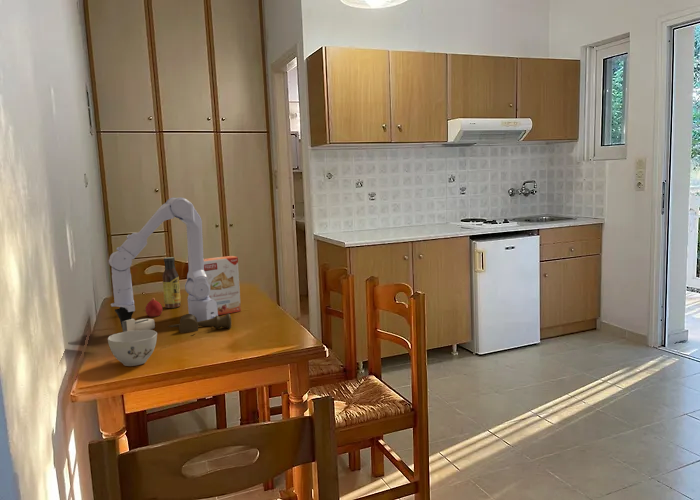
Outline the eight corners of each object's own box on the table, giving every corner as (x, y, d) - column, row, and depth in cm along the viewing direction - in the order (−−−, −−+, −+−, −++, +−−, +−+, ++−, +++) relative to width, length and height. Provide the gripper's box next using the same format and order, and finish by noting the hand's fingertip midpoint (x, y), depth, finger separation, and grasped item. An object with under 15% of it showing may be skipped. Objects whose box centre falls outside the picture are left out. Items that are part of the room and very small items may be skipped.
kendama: (232, 333, 179) (168, 339, 173) (230, 326, 188) (169, 332, 182) (232, 314, 178) (167, 320, 172) (229, 309, 187) (168, 314, 182)
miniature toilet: (147, 324, 187) (146, 313, 186) (159, 327, 182) (158, 315, 182) (118, 332, 179) (117, 320, 178) (129, 335, 174) (128, 322, 174)
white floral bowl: (162, 365, 148) (159, 336, 147) (112, 374, 142) (108, 344, 141) (154, 350, 161) (152, 324, 160) (108, 358, 155) (105, 331, 154)
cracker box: (206, 318, 198) (201, 260, 195) (200, 315, 202) (195, 259, 200) (242, 311, 206) (238, 256, 203) (235, 308, 211) (231, 254, 208)
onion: (142, 320, 198) (140, 299, 197) (155, 316, 204) (153, 295, 203) (154, 322, 196) (152, 300, 195) (166, 318, 201) (164, 296, 200)
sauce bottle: (178, 308, 216) (173, 258, 213) (162, 309, 216) (157, 259, 213) (183, 304, 222) (179, 256, 220) (168, 305, 222) (163, 256, 220)
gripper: (103, 287, 180) (107, 327, 182) (116, 294, 168) (120, 336, 170) (125, 284, 184) (129, 323, 186) (139, 290, 173) (143, 332, 175)
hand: (126, 329), depth 178 cm, fingers closed, pressing on miniature toilet
